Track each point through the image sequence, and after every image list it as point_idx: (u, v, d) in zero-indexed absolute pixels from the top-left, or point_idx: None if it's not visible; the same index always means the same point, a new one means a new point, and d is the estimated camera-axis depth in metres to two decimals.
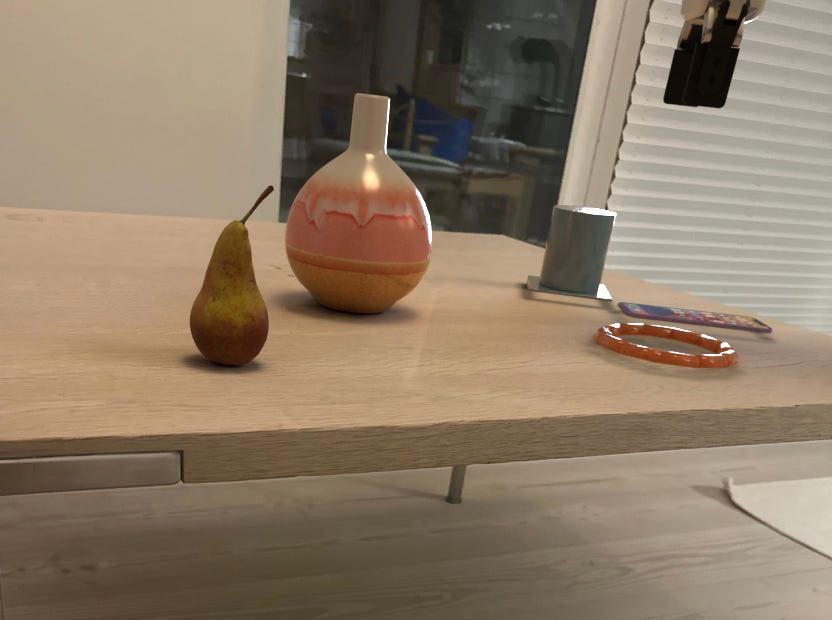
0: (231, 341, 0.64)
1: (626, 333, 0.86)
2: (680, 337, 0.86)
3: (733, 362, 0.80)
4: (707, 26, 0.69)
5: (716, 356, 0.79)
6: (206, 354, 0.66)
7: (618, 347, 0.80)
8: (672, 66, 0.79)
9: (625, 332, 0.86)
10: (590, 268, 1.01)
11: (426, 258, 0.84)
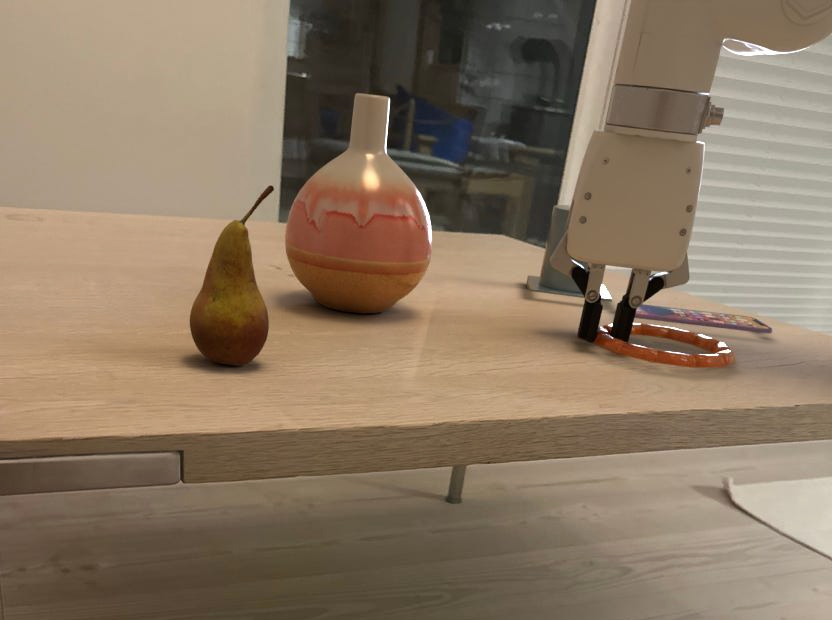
0: (231, 341, 0.64)
1: None
2: (677, 337, 0.86)
3: (730, 362, 0.80)
4: (643, 300, 0.80)
5: (713, 356, 0.79)
6: (206, 354, 0.66)
7: (615, 347, 0.80)
8: (598, 319, 0.81)
9: None
10: None
11: (426, 258, 0.84)
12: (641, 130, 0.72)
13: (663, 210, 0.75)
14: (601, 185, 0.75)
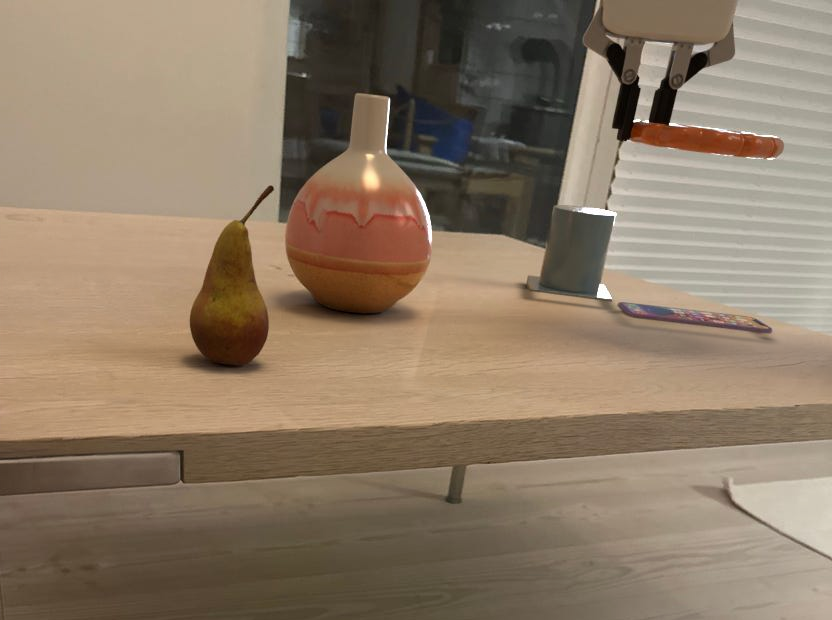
0: (231, 341, 0.64)
1: None
2: None
3: (779, 147, 0.74)
4: (684, 79, 0.74)
5: (762, 136, 0.72)
6: (206, 354, 0.66)
7: (655, 129, 0.73)
8: (635, 103, 0.75)
9: None
10: (590, 268, 1.01)
11: (426, 258, 0.84)
12: None
13: None
14: None
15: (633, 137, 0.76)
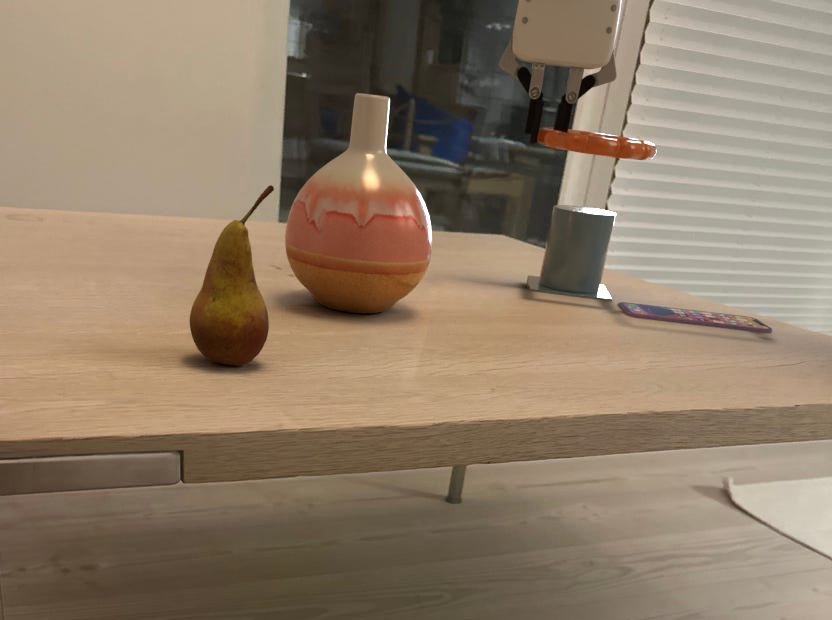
0: (231, 341, 0.64)
1: None
2: None
3: (651, 151, 0.94)
4: (577, 96, 0.94)
5: (635, 142, 0.93)
6: (206, 354, 0.66)
7: (553, 135, 0.94)
8: (540, 114, 0.95)
9: None
10: (590, 268, 1.01)
11: (426, 258, 0.84)
12: None
13: (591, 9, 0.90)
14: None
15: (539, 141, 0.96)
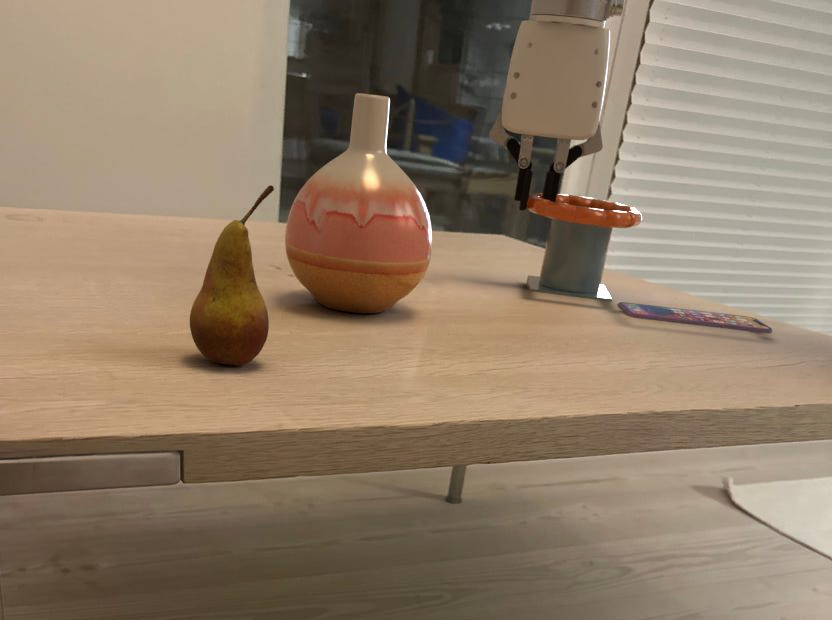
0: (231, 341, 0.64)
1: None
2: (598, 206, 1.04)
3: (636, 219, 0.98)
4: (565, 166, 0.98)
5: (621, 212, 0.96)
6: (206, 354, 0.66)
7: (542, 204, 0.97)
8: (529, 182, 0.99)
9: None
10: (590, 268, 1.01)
11: (426, 258, 0.84)
12: (556, 16, 0.89)
13: (577, 86, 0.93)
14: (526, 65, 0.93)
15: (528, 208, 0.99)
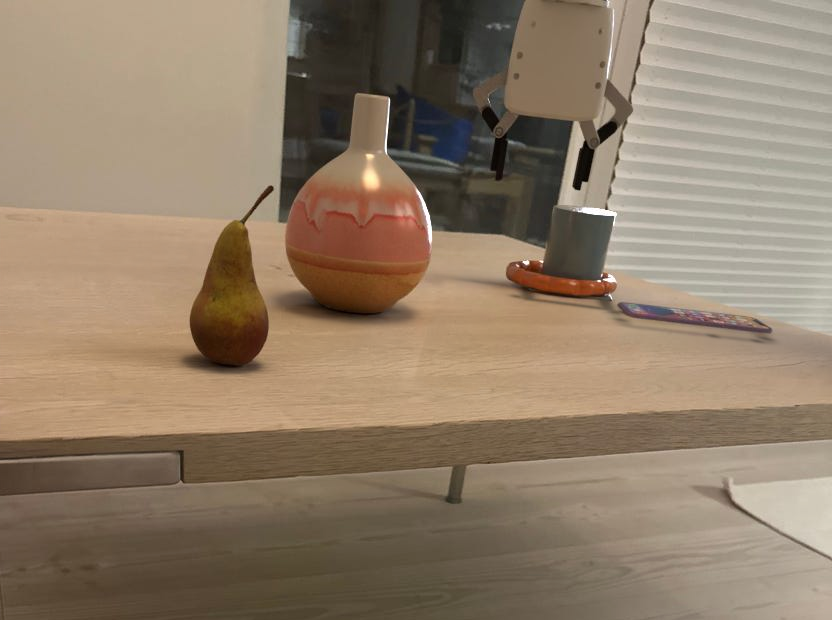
0: (231, 341, 0.64)
1: (533, 268, 1.08)
2: None
3: (611, 287, 1.02)
4: (599, 138, 0.96)
5: (595, 281, 1.00)
6: (206, 354, 0.66)
7: (519, 274, 1.01)
8: (504, 152, 0.97)
9: (532, 267, 1.08)
10: (590, 268, 1.01)
11: (426, 258, 0.84)
12: None
13: (581, 66, 0.92)
14: (530, 45, 0.92)
15: (507, 277, 1.04)
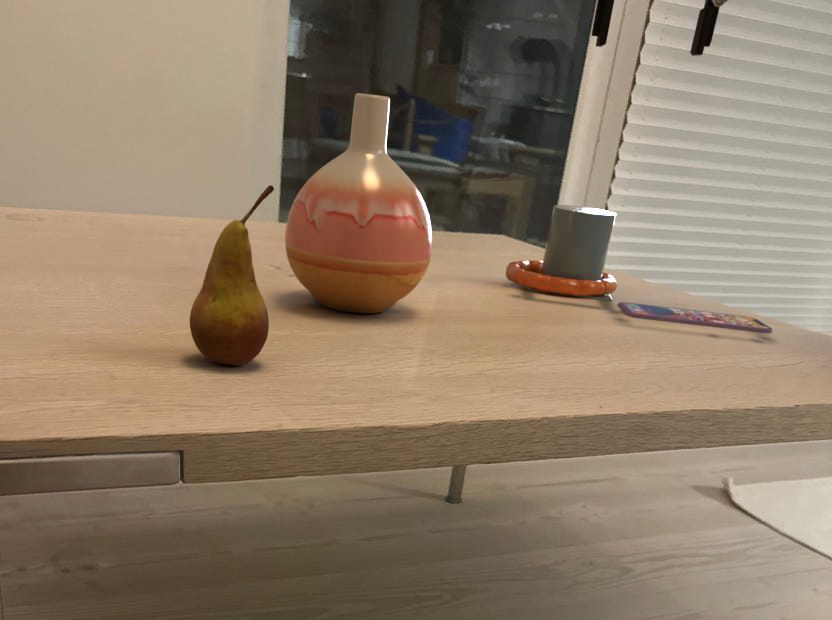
0: (231, 341, 0.64)
1: (533, 268, 1.08)
2: None
3: (611, 287, 1.02)
4: None
5: (595, 281, 1.00)
6: (206, 354, 0.66)
7: (519, 274, 1.01)
8: (610, 12, 0.91)
9: (532, 267, 1.08)
10: (590, 268, 1.01)
11: (426, 258, 0.84)
12: None
13: None
14: None
15: (507, 277, 1.04)
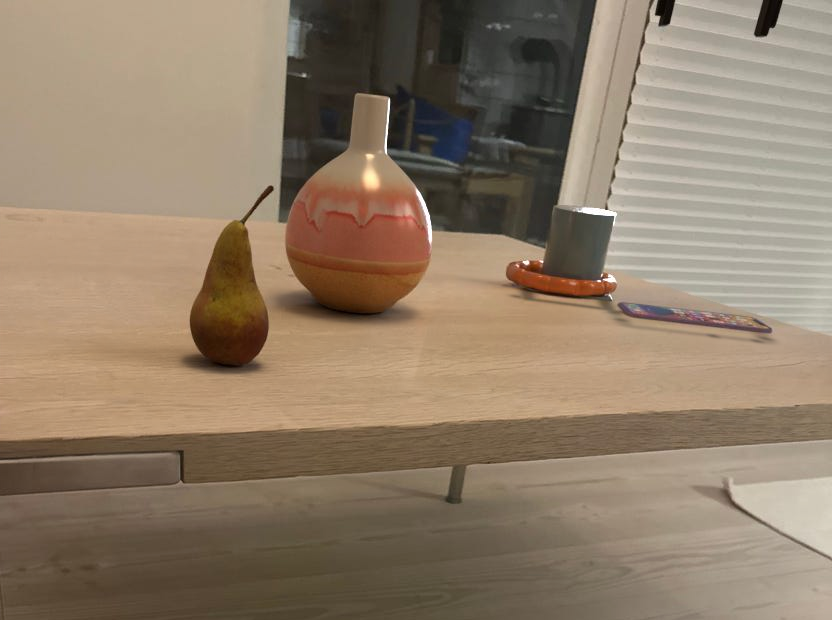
0: (231, 341, 0.64)
1: (533, 268, 1.08)
2: None
3: (611, 287, 1.02)
4: None
5: (595, 281, 1.00)
6: (206, 354, 0.66)
7: (519, 274, 1.01)
8: None
9: (532, 267, 1.08)
10: (590, 268, 1.01)
11: (426, 258, 0.84)
12: None
13: None
14: None
15: (507, 277, 1.04)
